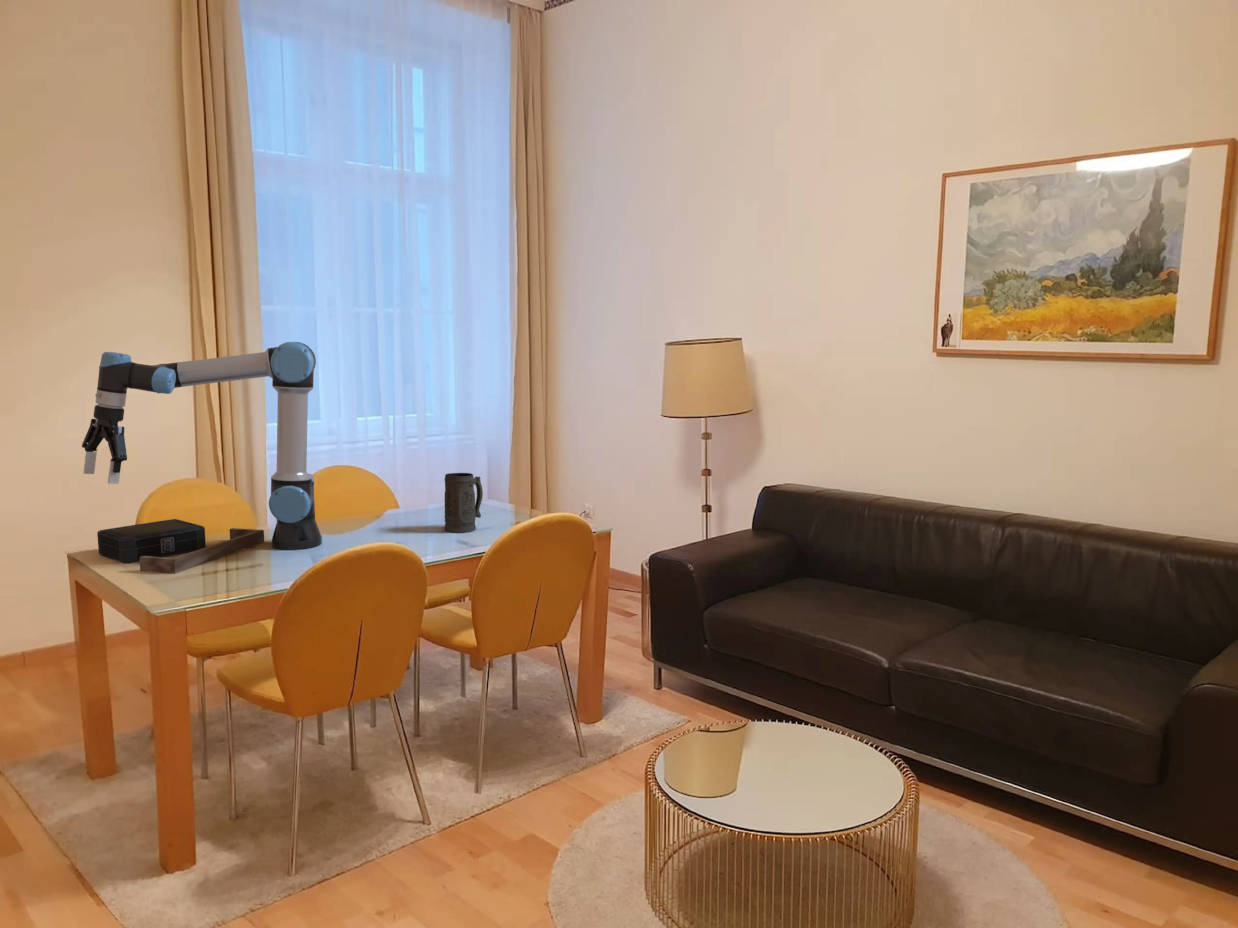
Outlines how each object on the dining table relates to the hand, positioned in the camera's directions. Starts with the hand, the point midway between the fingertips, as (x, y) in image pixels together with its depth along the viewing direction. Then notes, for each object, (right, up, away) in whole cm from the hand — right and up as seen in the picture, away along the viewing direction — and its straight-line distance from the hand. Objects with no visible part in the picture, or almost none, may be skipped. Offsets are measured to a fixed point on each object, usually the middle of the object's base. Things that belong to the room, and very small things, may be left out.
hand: (100, 478), depth 264 cm
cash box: (+6, -23, +19) cm, 31 cm away
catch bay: (+24, -24, +14) cm, 37 cm away
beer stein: (+96, -19, +55) cm, 112 cm away
